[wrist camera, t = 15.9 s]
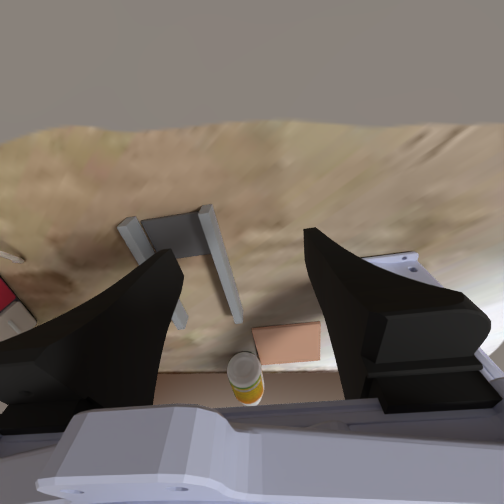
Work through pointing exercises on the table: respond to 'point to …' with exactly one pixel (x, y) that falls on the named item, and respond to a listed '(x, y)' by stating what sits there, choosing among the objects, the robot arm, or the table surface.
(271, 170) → the table surface
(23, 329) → the black upright block
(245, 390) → the supplement bottle
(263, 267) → the table surface
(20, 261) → the dna model
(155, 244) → the channel
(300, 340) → the tile
